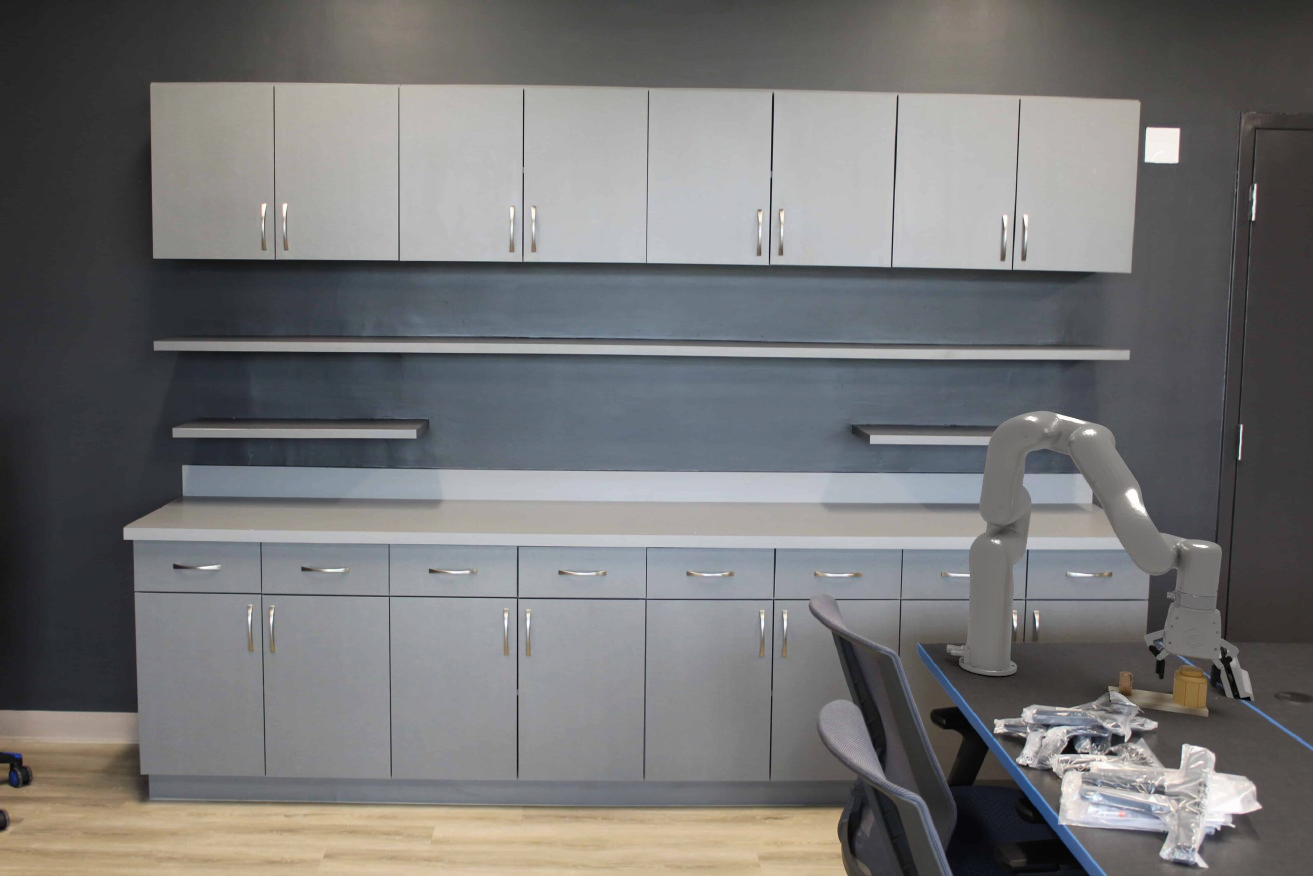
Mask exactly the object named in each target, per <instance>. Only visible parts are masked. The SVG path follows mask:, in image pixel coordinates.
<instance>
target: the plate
mask: <svg viewBox="0 0 1313 876" xmlns="http://www.w3.org/2000/svg"><path fill="white" fill-rule="evenodd" d="M1107 690H1108V691H1111V690H1114V691H1117V692H1119V686H1111V685H1108V687H1107ZM1108 691H1107V692H1108ZM1125 697H1126V698H1127V699H1128V700H1130V701H1131V702H1132V703H1135V704H1137V705H1138V706H1140V707H1139V708H1143V709H1149V710H1157V711H1163V712H1170V713H1171V712H1173V713H1178V714H1179V713H1180V714H1183V715H1184V714H1186V715H1191V716H1198V717H1199V716H1200V717H1209V709H1208V707H1207V705H1206V706H1205V707H1200V708H1194V707H1186V706H1182V705H1180V704H1177V703H1175V702H1174V701H1173V693H1164V692H1157V691H1149V690H1141V689H1133V688H1132V693H1131V696H1125Z"/></svg>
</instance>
